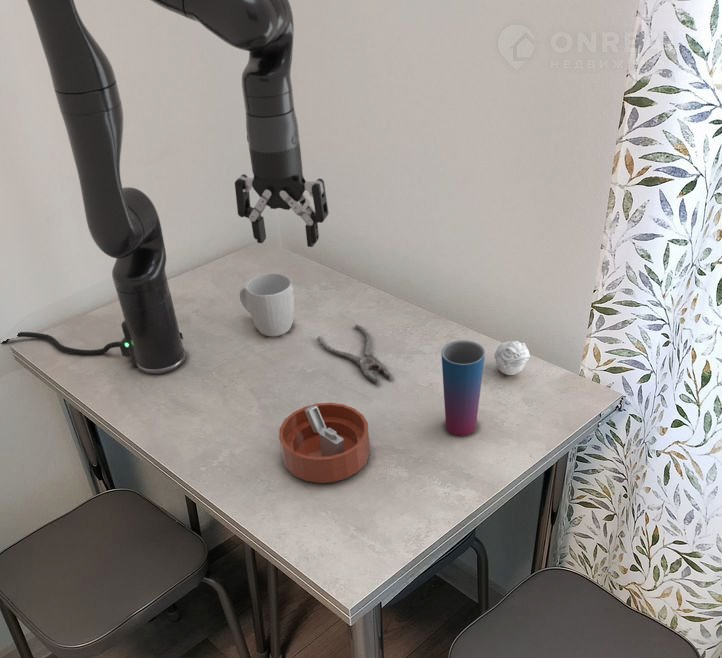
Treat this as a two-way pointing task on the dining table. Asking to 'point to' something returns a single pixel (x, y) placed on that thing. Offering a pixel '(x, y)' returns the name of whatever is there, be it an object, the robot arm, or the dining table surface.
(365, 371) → the pliers
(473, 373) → the cup
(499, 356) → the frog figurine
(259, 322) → the mug
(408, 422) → the dining table surface
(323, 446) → the lighter
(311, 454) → the bowl
